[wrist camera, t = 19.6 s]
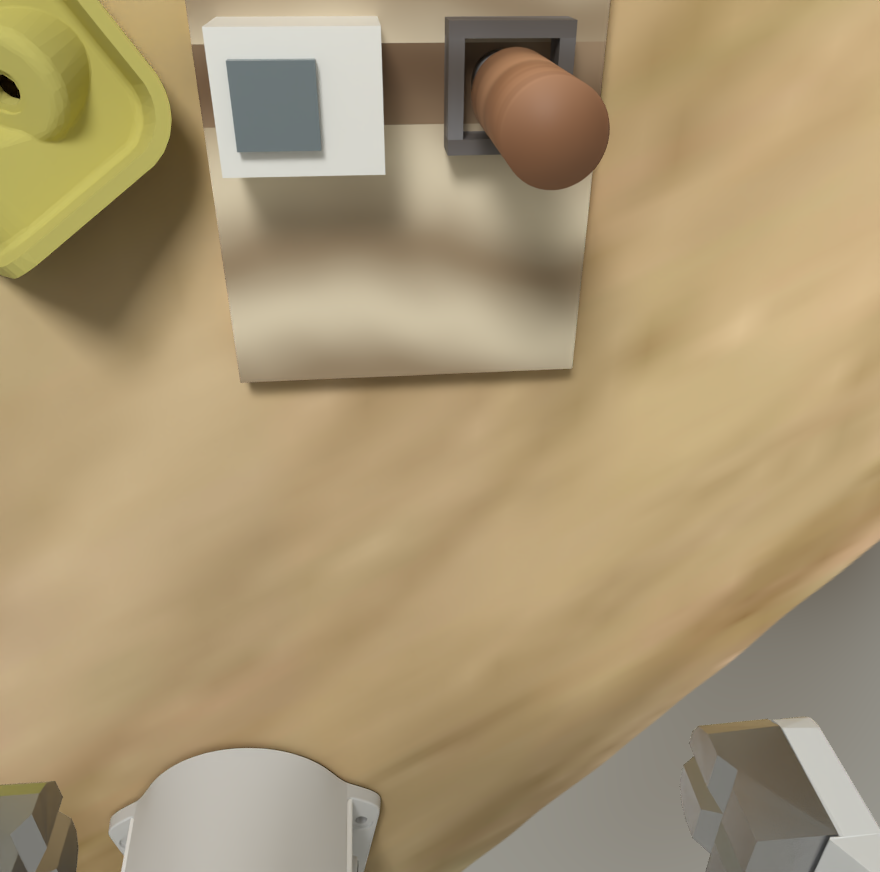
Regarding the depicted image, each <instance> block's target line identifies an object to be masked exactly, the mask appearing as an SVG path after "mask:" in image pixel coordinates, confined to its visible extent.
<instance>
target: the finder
mask: <svg viewBox="0 0 880 872" xmlns="http://www.w3.org/2000/svg"><path fill="white" fill-rule="evenodd" d="M202 31H203V39H204V46H205V53H206V61H207V68H208V75H209V83H210V90H211V97H212V105H213V112H214V119H215V126H216V134H217V141H218V148H219V156H220V163H221V170H222V178H249V177H297V176H346V175H385V147H384V114H383V81H382V48H381V25H380V22H379V19H378V16H264V17H215V18H213V19H212V20H211V21H209V22H208V23H206V24H205V25H204V26H202Z"/></svg>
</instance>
